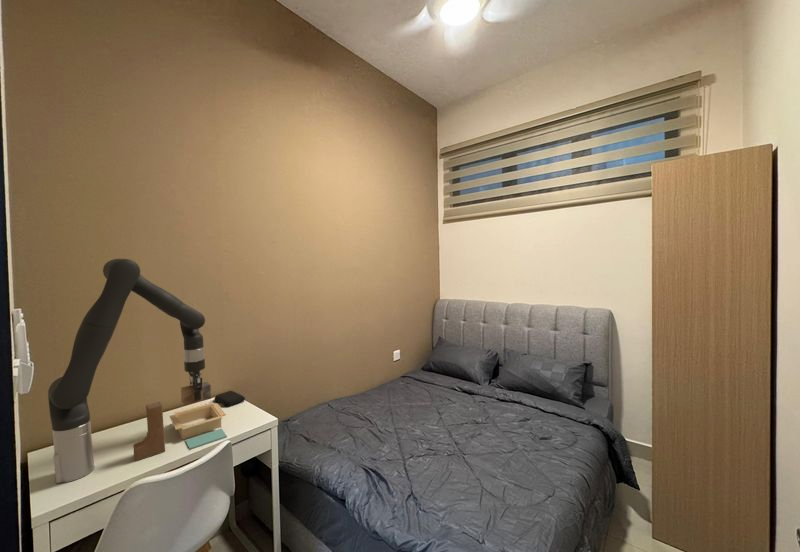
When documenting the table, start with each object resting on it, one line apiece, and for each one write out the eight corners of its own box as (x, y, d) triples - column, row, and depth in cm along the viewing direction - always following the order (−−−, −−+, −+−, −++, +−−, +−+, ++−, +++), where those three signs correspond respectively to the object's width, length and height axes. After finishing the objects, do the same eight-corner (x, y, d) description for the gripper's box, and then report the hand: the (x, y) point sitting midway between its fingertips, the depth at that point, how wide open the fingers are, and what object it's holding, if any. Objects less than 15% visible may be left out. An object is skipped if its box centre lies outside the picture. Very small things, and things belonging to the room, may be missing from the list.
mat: (189, 449, 130) (189, 448, 130) (185, 441, 136) (185, 440, 136) (226, 437, 138) (226, 435, 138) (221, 429, 144) (221, 428, 144)
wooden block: (135, 461, 123) (131, 412, 121) (134, 456, 126) (130, 408, 125) (165, 451, 129) (162, 404, 127) (163, 446, 132) (160, 401, 131)
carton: (177, 443, 134) (176, 431, 134) (169, 425, 149) (168, 414, 148) (227, 427, 146) (227, 415, 146) (216, 411, 161) (215, 401, 160)
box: (183, 405, 141) (183, 391, 141) (181, 401, 145) (180, 387, 145) (211, 398, 148) (210, 384, 148) (208, 394, 152) (207, 381, 151)
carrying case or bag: (210, 401, 172) (225, 409, 164) (210, 396, 172) (225, 403, 163) (231, 394, 181) (246, 401, 172) (231, 389, 181) (246, 395, 172)
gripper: (180, 356, 148) (182, 395, 149) (187, 364, 138) (189, 406, 139) (200, 353, 153) (202, 390, 154) (208, 360, 143) (210, 400, 144)
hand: (196, 397), depth 146 cm, fingers closed on box, 5 cm apart
